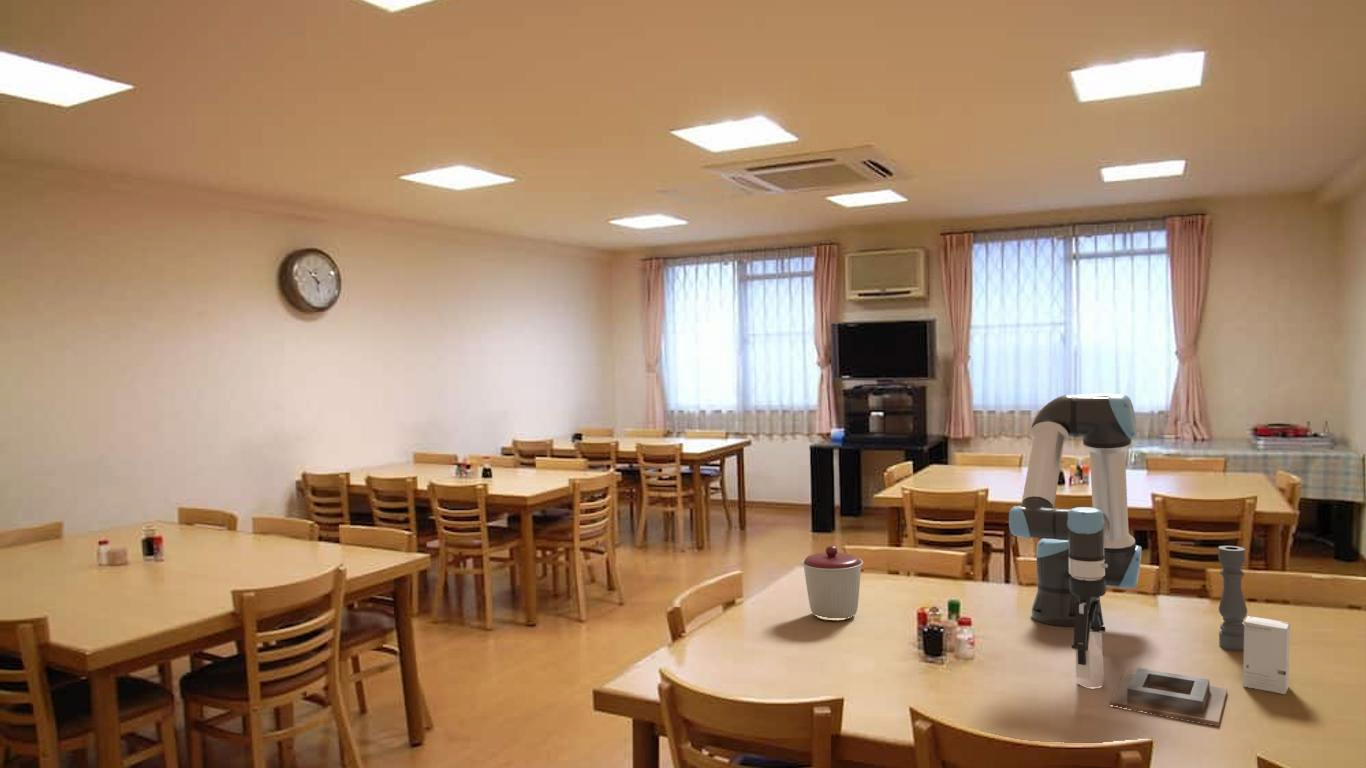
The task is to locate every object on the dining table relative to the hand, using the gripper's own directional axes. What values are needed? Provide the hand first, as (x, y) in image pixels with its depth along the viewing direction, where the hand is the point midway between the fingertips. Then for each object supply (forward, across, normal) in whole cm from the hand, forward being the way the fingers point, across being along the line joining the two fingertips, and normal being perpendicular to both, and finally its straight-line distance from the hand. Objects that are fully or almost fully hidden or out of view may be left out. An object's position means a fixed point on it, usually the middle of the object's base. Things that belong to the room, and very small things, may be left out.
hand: (1089, 668), depth 199 cm
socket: (+4, -1, -16) cm, 16 cm away
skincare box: (+4, +17, -33) cm, 37 cm away
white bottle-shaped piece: (+4, 0, 0) cm, 4 cm away
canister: (+4, +19, +74) cm, 76 cm away
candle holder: (+4, +43, -25) cm, 50 cm away
